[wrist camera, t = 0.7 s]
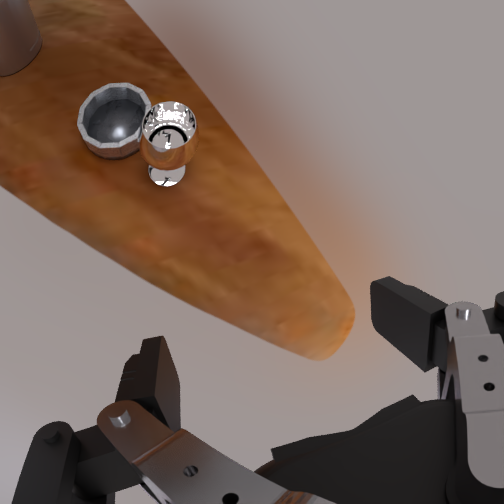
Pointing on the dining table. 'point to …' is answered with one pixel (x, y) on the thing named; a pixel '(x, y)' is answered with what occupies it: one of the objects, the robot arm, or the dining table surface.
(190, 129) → the wineglass
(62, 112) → the dining table surface
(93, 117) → the grey bowl
